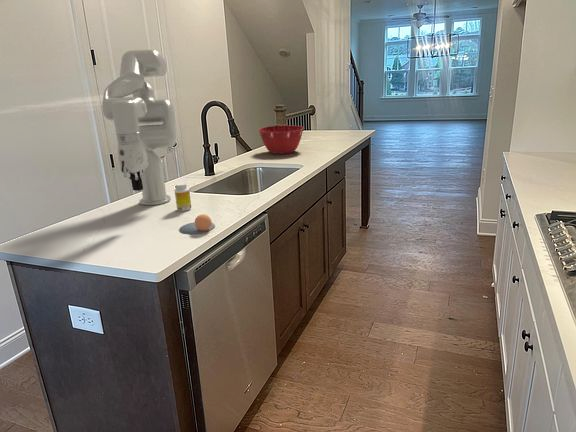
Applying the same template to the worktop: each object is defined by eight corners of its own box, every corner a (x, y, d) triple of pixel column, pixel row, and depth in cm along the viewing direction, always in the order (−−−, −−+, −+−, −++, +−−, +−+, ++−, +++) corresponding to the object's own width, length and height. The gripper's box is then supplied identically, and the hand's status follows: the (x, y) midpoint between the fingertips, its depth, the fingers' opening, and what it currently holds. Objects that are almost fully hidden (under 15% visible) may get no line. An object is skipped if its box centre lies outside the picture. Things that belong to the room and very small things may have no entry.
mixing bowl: (313, 152, 276) (312, 127, 271) (273, 158, 262) (271, 132, 258) (290, 147, 299) (289, 124, 294) (252, 152, 286) (250, 128, 281)
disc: (183, 223, 156) (183, 222, 156) (217, 221, 156) (216, 220, 156) (175, 235, 145) (175, 234, 145) (212, 233, 145) (212, 232, 145)
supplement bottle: (193, 209, 171) (190, 184, 168) (179, 212, 169) (175, 186, 165) (189, 206, 176) (185, 181, 173) (175, 209, 173) (171, 183, 170)
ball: (217, 222, 146) (210, 233, 149) (209, 210, 149) (202, 222, 151) (203, 222, 142) (196, 235, 145) (195, 211, 144) (189, 223, 147)
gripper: (124, 142, 140) (133, 197, 147) (151, 133, 153) (159, 184, 160) (104, 142, 142) (115, 195, 149) (133, 133, 156) (142, 183, 162)
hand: (138, 189), depth 154 cm, fingers closed
